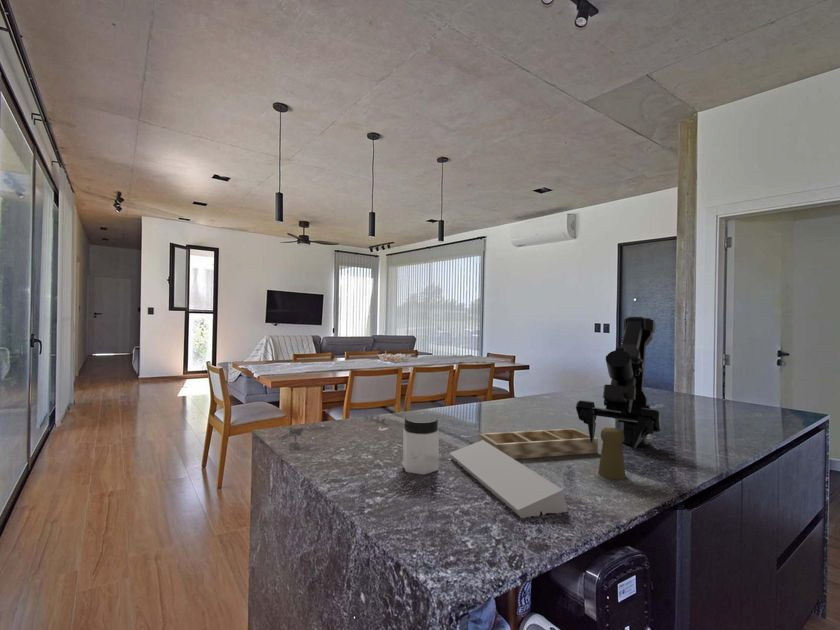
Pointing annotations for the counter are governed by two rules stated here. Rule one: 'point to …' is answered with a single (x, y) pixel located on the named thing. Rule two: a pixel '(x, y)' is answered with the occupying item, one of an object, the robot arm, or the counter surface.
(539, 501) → the decorative molding
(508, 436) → the spice rack
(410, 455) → the jar
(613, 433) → the olive pepper mill
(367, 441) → the counter surface
